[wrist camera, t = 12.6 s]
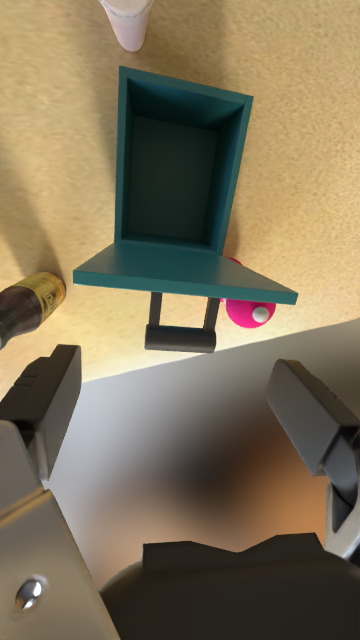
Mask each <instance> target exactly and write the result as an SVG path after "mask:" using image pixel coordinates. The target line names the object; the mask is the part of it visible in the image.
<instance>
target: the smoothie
mask: <svg viewBox="0 0 360 640" xmlns="http://www.w3.org/2000/svg"><path fill="white" fill-rule="evenodd" d="M99 1H100V3H101V4H102V5H103V6H104V8H105V10H106V13H107V15H108V18H109V20H110V23H111V25H112V27H113V30H114V32H115V35H116V37H117V40H118V42H119V43H120V45H121V46H122V47H123V48H124V49H125V50H127V51H130V52H134V51H137V50H139V49H140V48H141V47H142V45H143V43H144V40H145V35H146V29H147V24H148V18H149V13H150V7H151V5H152V4H153V2H154V0H99Z"/></svg>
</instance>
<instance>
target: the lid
mask: <svg viewBox="0 0 360 640" xmlns="http://www.w3.org/2000/svg"><path fill="white" fill-rule="evenodd" d="M73 284H77V285H87V286H98V287H108V288H119V289H130V290H140V291H151V303H150V314H149V324H147V325H146V333H145V349H146V350H162V351H180V352H197V353H213V352H214V350H215V347H216V333H215V330H214V329H215V324H216V319H217V314H218V309H219V304H220V299H221V298H225V299H236V300H247V301H257V302H268V303H278V304H289V305H295V304H296V301H297V297H298V293H297V292H295V291H293V290H291V289H289V288H287V287H285V286H283V285H281V284H279V283H277V282H275V281H273V280H271V279H269V278H267V277H265V276H263V275H260V274H258V273H256V272H254V271H252V270H250V269H248V268H246V267H244V266H242V265H240V264H238V263H236V262H234V261H232V260H230V259H228V258H226V257H224V256H221V255H213V254H204V253H196V252H188V251H180V250H171V249H163V248H155V247H147V246H139V245H130V244H122V243H113V244H111V245H110V246H108V247H107V248H105V249H104V250H102V251H101V252H99V253H98V254H97V255H95V256H94V257H92V258H91V259H89V260H88V261H86V262H85V263H83V264H82V265H80V266H79V267H77V268H76V269H75V270H73ZM162 293H172V294H183V295H193V296H204V297H208V303H207V308H206V314H205V320H204V325H203V328H190V327H177V326H163V325H159V320H160V311H161V302H162Z"/></svg>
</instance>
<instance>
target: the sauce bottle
mask: <svg viewBox="0 0 360 640" xmlns="http://www.w3.org/2000/svg"><path fill="white" fill-rule="evenodd" d="M65 296H66V286H65V284H64V282H63V281H62V280H61V279H60V278H59V277H58V276H57V275H56V274H54V273H50V272H38V273H36V274H33V275H31V276H29V277H27V278H25V279H24V280H22V281H20V282H18V283H16V284H14V285H12V286H10V287H8V288H6V289H4V290H3V291H2V292H0V350H1V349H2V348H4V346H5V345H6V344H7V341H9V340H10V339H11V338H12V337H14V336H18V335H21V334H25V333H28V332H31V331H34V330H36V329H37V328H38V327H39V326H40V325H41V324H42V323H43V322H44V321H45V320H46V319H47V318H48V317H49V316H50V315H51V314H52V313H53V311H54V310H55V309H56V308H57V307H58V306H59V305H60V304H61V303H62V302H63V300H64V298H65Z"/></svg>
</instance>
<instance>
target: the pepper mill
mask: <svg viewBox="0 0 360 640" xmlns="http://www.w3.org/2000/svg"><path fill="white" fill-rule="evenodd" d="M226 258H228V259H230V260H232V261H234V262H236V263H238V264H240V265H242V264H241V263H240V262H239V261H238V260H236V259H234V258H229V257H226ZM242 266H243V265H242ZM220 301H221V302H224V304H225V305H226V311H227V313H228V316H229V317H230V319H231V320H232V321H233V322H234V323H236V324H237V325H239V326H241V327H245V328H256V327H259V326H261V325H263V324H265V323H266V322H267V321H268V320H270V318H271V317H272V315H273V314H274V311H275V308H276V303H268V302H257V301H247V300H236V299H225V298H221V299H220Z"/></svg>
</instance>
